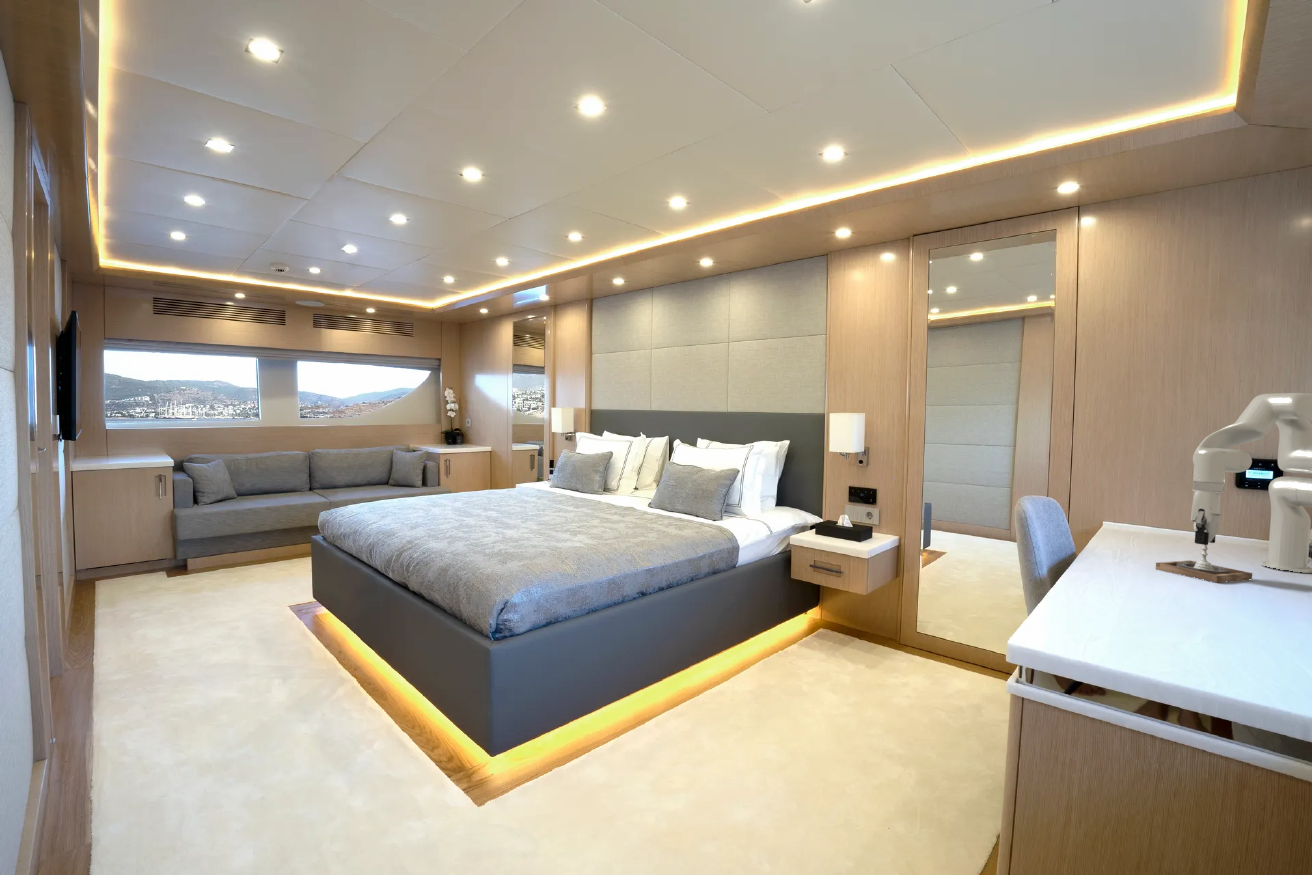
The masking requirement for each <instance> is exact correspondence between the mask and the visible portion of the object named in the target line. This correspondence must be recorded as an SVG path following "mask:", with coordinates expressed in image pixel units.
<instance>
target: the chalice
mask: <svg viewBox="0 0 1312 875" xmlns="http://www.w3.org/2000/svg"><path fill="white" fill-rule="evenodd" d="M1204 516H1205V515H1204ZM1221 517H1222V514H1218V515H1213V521H1212V523H1210V524H1209V526H1208V533H1209V539H1208V543H1209V542H1211V541H1212V540H1213V538H1214V537H1215V536H1216V537H1217V534H1218V533H1219V532H1218V531H1219V529H1220V528H1219V526H1220V518H1221ZM1196 519H1197V518H1196ZM1195 521H1196V520H1195ZM1202 522H1206V521H1205V520H1203V521H1202ZM1193 529H1194V531H1195V529H1196V522H1193ZM1216 537H1215V538H1216ZM1208 549H1209V548H1208V545H1203V544H1202V547H1201V550H1202V552H1201V553H1200V555H1201V559H1200V560H1197V561H1196V564H1195V566H1194V568H1198V569H1206V570H1213V567H1212V565H1213V564H1212V563H1211V562H1210V561H1208V560H1207V557H1208V555H1209V553H1208V552H1207V551H1208Z"/></svg>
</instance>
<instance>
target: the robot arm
mask: <svg viewBox="0 0 1312 875" xmlns="http://www.w3.org/2000/svg"><path fill="white" fill-rule="evenodd" d="M1309 420H1311V421H1312V393H1306V392H1304V393H1303V392H1282V393H1281V392H1280V393H1277V392H1276V393H1274V392H1273V393H1262V394H1258V395H1256V396H1255V397H1254V398H1252V400H1251V401H1250V402H1249V404H1248V405H1247V406H1246V408H1244V410H1243V412H1242V413H1241V414H1240V415H1239V417H1238V418H1237V419H1236V420H1235V422H1234V423H1232V424H1230V425H1227V426H1225V427H1222V428H1220V429H1218V430H1217V431H1214V432H1212V433H1211V434H1208V436H1206V437H1205V438H1204V439H1203V440H1202V441H1201V442H1200V443H1199V445H1198V446H1197V447H1196V449H1195V450H1194V453H1193V456H1192V463H1193V477H1192V492H1194V493H1193V498H1192V505H1191V513H1190V514H1191V515H1190V521H1191V522H1193V523H1194V522H1196V529H1195V530H1194V543H1195V544H1196V545H1202V546H1203V545H1207V546H1208V545H1209V543H1211V544H1216V537H1217V535H1216V536H1215V537H1214V538H1213V540H1212V541H1211V542H1208V539H1209V533H1208V526H1209V524H1210V523H1212V521H1213V515H1218V514H1220V513H1221V494H1224V493H1225V480H1226V473H1237V474H1238V473H1242V472H1243V473H1244V472H1246V471H1247V470H1249V469H1250V467H1251V465H1252V463H1253V460H1252V456H1251V455H1250V454H1249V453H1248V452H1247V451H1245V450H1242V449H1235V448H1231V447H1234V446H1238V445H1243V444H1248V443H1252V442H1255V441H1258V440H1262V439H1263V438H1265V437H1266V435H1268V433H1269V431H1271V429H1272V428H1273V426H1274V425H1276V426H1277V428H1278V431H1279V432H1278V433H1279V435H1278V436H1279V438H1278V452H1277V466H1278V468H1279V469H1280V471H1283V472H1285V473H1286V472H1287V473H1292V474H1303V475H1304V474H1305V475H1306V474H1307V475H1312V423H1310V421H1309ZM1229 447H1230V448H1229ZM1268 494H1269V495H1268V496H1269V500H1270V523H1269V524H1270V525H1269V538H1268V551H1267V560H1264V561H1261V564H1262V565H1263V567H1265V566H1267V567H1266V568H1268V567H1270V568H1269V569H1273V568H1276V569H1275V570H1278V569H1280V571H1283V570H1289V571H1288V572H1290V571H1293V572H1292V573H1300V572H1302V573H1301V574H1312V567H1310V566H1308V565H1309V564H1311V563H1312V558H1311V557H1309V552H1310V551H1309V550H1310V538H1311V537H1310V536H1311V525H1312V524H1311V523H1312V521H1311V519H1312V518H1311V517H1310V515H1309V513H1308V512H1307V510H1306V509H1305V507H1308V508H1312V478H1310V477H1301V476H1299V477H1298V476H1280V477H1279V476H1278V477H1276V478H1274V479H1273V480H1271V481H1270V483H1269V485H1268ZM1204 515H1205V516H1204ZM1220 515H1221V514H1220ZM1196 518H1197V519H1196ZM1195 520H1196V521H1195ZM1203 520H1205V521H1206V522H1202V521H1203ZM1262 565H1261V566H1262Z"/></svg>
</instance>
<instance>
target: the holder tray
mask: <svg viewBox="0 0 1312 875" xmlns="http://www.w3.org/2000/svg"><path fill="white" fill-rule="evenodd" d="M1196 562H1197V561H1196V560H1195V561H1194V560H1178V561H1177V560H1176V561H1175V560H1174V561H1163V562H1162V561H1160V562H1156V563H1155V570H1158V571H1161V570H1163V571H1162V572H1166V573H1170V572H1172V573H1171V574H1174V573H1175V575H1179V574H1182V575H1181V576H1183V575H1185V576H1184V577H1189V578H1192V577H1195V578H1194V579H1196V578H1198V579H1197V580H1201V579H1204V580H1203V581H1205V580H1207V581H1206V582H1210V581H1213V582H1212V583H1214V582H1215V584H1220V583H1219V582H1223V583H1227V582H1226V581H1235V582H1243V581H1242V580H1246V581H1250V580H1249V579H1252V580H1253V572H1249V571H1244V570H1239V569H1235V568H1234V569H1233V568H1230V567H1224V566H1220V565H1214V564H1211V565H1212V567H1213V570H1206V569H1198V568H1194V566H1195V564H1196Z"/></svg>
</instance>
